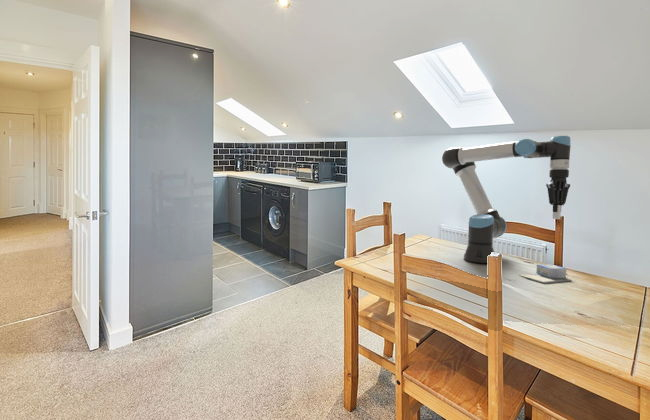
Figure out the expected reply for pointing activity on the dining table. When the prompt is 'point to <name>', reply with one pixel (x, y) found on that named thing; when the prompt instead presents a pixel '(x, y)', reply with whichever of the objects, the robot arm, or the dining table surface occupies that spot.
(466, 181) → the robot arm
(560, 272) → the medicine box
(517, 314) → the dining table surface
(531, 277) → the mat
